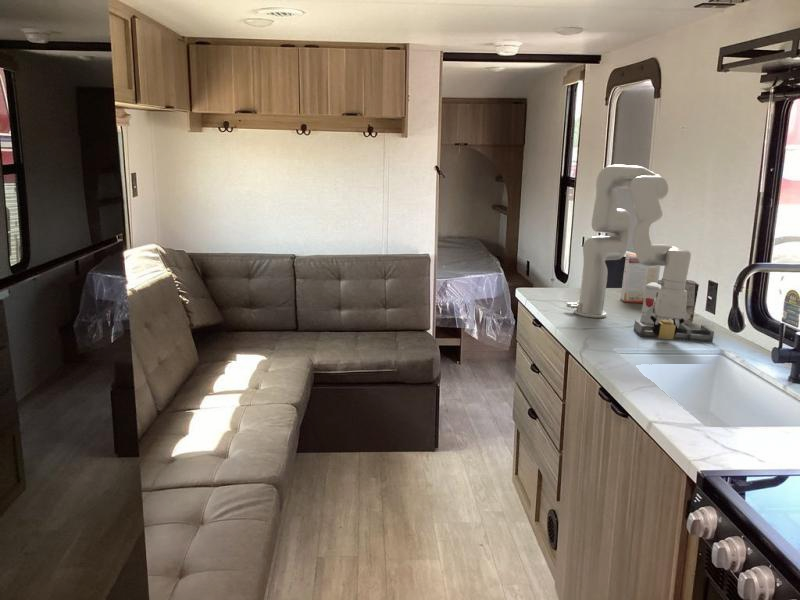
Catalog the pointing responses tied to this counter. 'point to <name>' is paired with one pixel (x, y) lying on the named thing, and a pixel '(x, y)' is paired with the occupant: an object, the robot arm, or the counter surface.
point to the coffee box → (691, 299)
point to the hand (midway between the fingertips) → (663, 334)
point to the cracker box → (637, 279)
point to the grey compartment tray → (682, 332)
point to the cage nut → (666, 329)
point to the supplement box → (649, 302)
